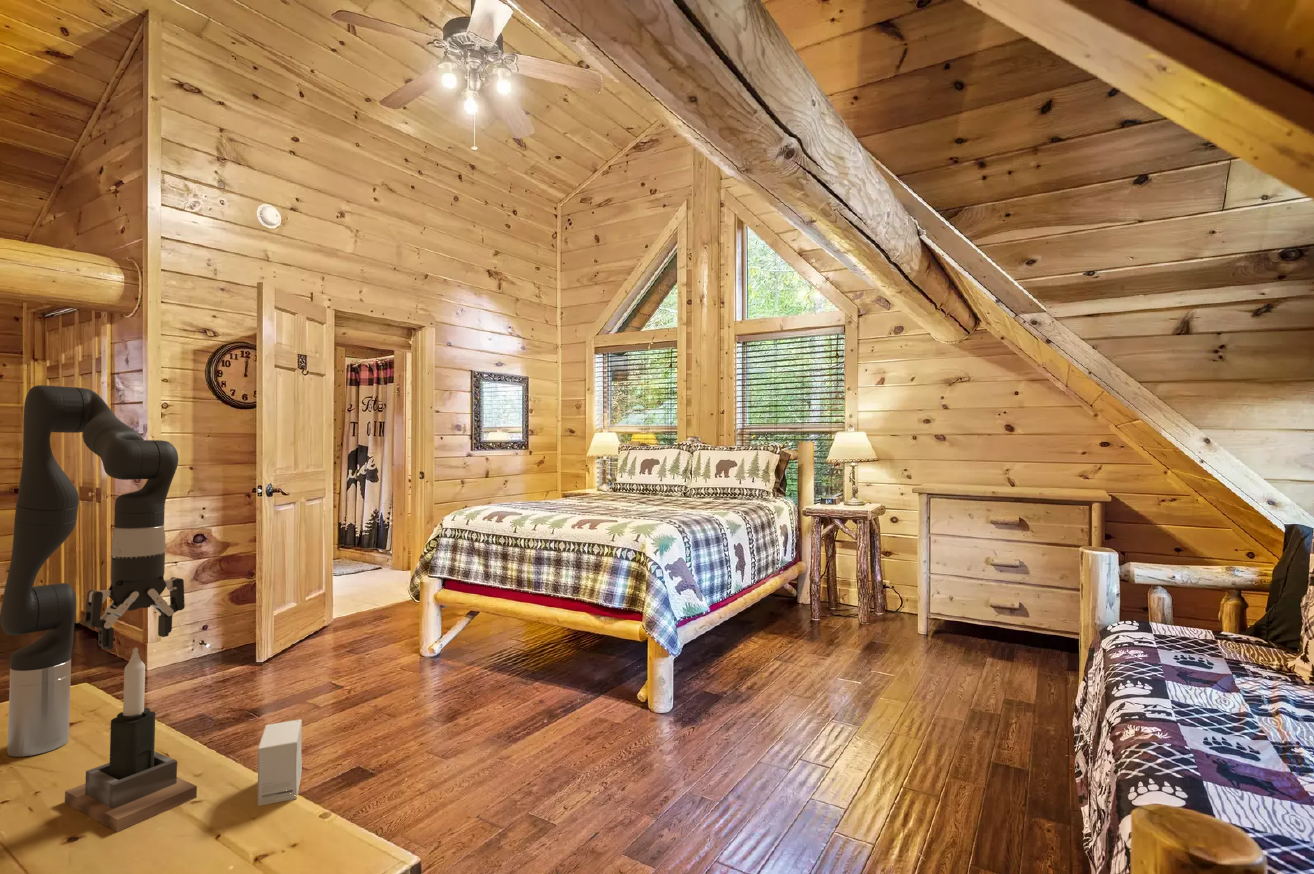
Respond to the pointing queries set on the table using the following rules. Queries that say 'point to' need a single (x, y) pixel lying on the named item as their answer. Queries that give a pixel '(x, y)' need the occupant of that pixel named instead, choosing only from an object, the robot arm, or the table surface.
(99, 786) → the socket board
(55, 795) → the table surface
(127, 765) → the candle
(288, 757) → the skincare box
